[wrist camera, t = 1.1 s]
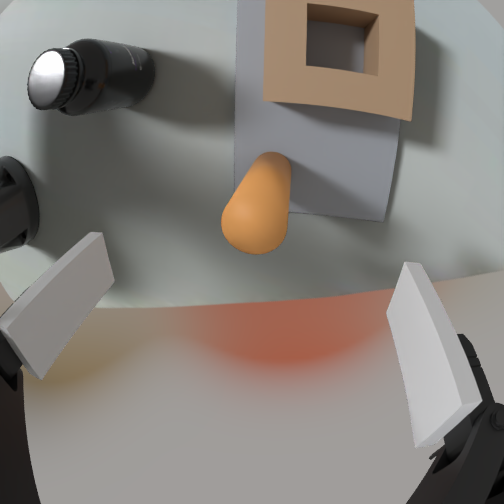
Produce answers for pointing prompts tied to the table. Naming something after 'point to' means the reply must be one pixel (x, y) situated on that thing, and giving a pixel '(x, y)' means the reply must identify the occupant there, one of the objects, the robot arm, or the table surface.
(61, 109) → the supplement bottle
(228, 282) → the table surface
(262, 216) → the peg
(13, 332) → the robot arm
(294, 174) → the socket board
